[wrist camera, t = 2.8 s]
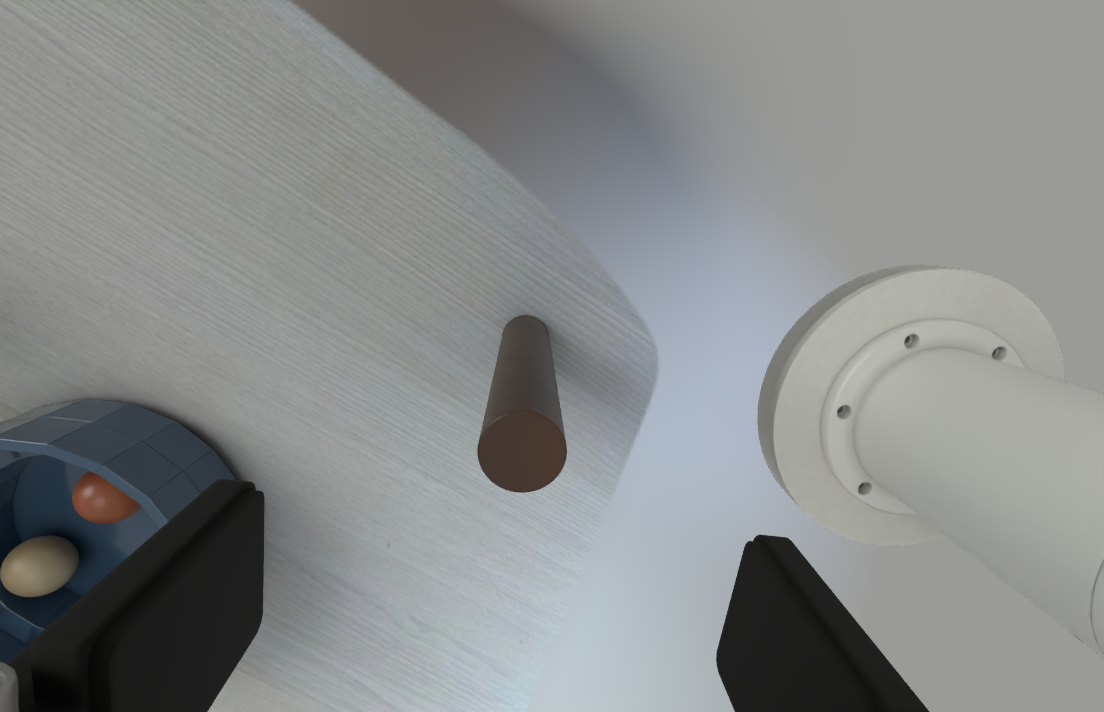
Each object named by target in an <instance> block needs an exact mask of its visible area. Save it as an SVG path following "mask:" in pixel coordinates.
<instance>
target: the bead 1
mask: <svg viewBox="0 0 1104 712" xmlns="http://www.w3.org/2000/svg"><path fill="white" fill-rule="evenodd" d="M78 564H79V554H78V550H77V548H76V547H75V546H74V544H73V543H72V542H70V541H69V540H67V539H65V538H63V537H59V536H52V535H46V536H39V537H35V538H32V539H29V540H27V541H25V542H23V543H21V544H19V545H18V546H16V547H15V548H14V549H13V550H12V551H11V552H10V553H9V554H8V555H7V556H6V558H5V559H4V561H3V563H2V566H1V569H0V578H1V581H2V584H3V585H4V587H5V588H6V589H7V590H8V591H10V592H11V593H13V594H15V595H18V596H23V597H38V596H42V595H46V594H49V593H51V592H54V591H56V590H57V589H59V588H61V587H62V586H63V585H65V584H66V583H67V582H68V581H69V580H70V579H71V578H72V576H73V575H74V573H75V572H76V570H77V567H78Z"/></svg>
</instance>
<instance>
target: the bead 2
mask: <svg viewBox="0 0 1104 712" xmlns="http://www.w3.org/2000/svg"><path fill="white" fill-rule="evenodd" d="M72 502H73V506H74V508H75V510H76V512H77V513H78V514H79V515H80V516H81V517H82V518H84V519H85V520H87V521H90V522H93V523H97V524H112V523H117V522H120V521H123V520H125V519H127V518H129V517H131V516H132V515H134V514H135V513H136V512H137V511H138V510H139V509H140V508H141V507H142V506H141V505H140V504H139V503H138V502H136V501H135V500H133V499H132V498H131V497H129V496H128V495H126V494H125V493H123V492H122V491H121V490H119V489H118V488H116V487H115V486H114V485H112V484H111V483H109V482H108V481H106V480H105V479H104V478H102V477H101V476H99V475H98V474H96V473H93V472H90V471H88V472H87V473H85V474H84V475H83V476H82V477H81V478H80V479H79V481H78V482H77V483H76V485H75V487H74V490H73V494H72Z"/></svg>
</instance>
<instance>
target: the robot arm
mask: <svg viewBox="0 0 1104 712" xmlns="http://www.w3.org/2000/svg"><path fill="white" fill-rule="evenodd" d="M820 434H821V446H822V450H823V453H824V457H825V460H826V463H827V465H828V466H829V468H830V470H831V472H832V474H833V476H834V477H835V478H836V479H837V480H838V481H839V482H840V484H841V485H842V486H843V487H844V488H845V489H846V490H847V491H848V492H850V493H851V494H852V495H853V496H854V497H855V498H857V499H858V500H860V501H862V502H863V503H865V504H867V505H869V506H871V507H872V508H875V509H878V510H881V511H885V512H888V513H894V514H903V515H915V514H918V515H920V516H921V517H922V518H923V519H925V520H926V521H927V522H929V523H930V524H931V525H932V526H934V527H935V528H936V529H938V530H939V531H940V532H941V533H943V534H944V535H945V536H947V537H948V538H949V539H950V540H952V541H953V542H954V543H956V544H957V545H958V546H959V547H961V548H962V549H963V550H965V551H966V552H967V553H969V554H970V555H971V556H972V557H974V558H975V559H976V560H977V561H979V562H980V563H981V564H983V565H984V566H985V567H987V568H988V569H989V570H990V571H992V572H993V573H994V574H995V575H997V576H998V577H999V578H1001V579H1002V580H1003V581H1005V582H1006V583H1007V584H1008V585H1010V586H1011V587H1012V588H1014V589H1015V590H1016V591H1017V592H1019V593H1020V594H1021V595H1023V596H1024V597H1025V598H1026V599H1028V600H1029V601H1030V602H1032V603H1033V604H1034V605H1035V606H1037V607H1038V608H1039V609H1041V610H1042V611H1043V612H1044V613H1046V614H1047V615H1048V616H1050V617H1051V618H1052V619H1053V620H1055V621H1056V622H1057V623H1059V624H1060V625H1061V626H1062V627H1064V628H1065V629H1066V630H1068V631H1069V632H1070V633H1071V634H1073V635H1074V636H1075V637H1077V638H1078V639H1079V640H1081V641H1082V642H1083V643H1085V644H1086V645H1087V646H1088V647H1089V648H1091V649H1092V650H1093V651H1095V652H1096V653H1097V654H1099V655H1100V656H1101V657H1102V658H1104V394H1103V393H1100V392H1097V391H1093V390H1090V389H1087V388H1084V387H1081V386H1078V385H1074V384H1071V383H1068V382H1065V381H1062V380H1059V379H1056V378H1052V377H1049V376H1046V375H1043V374H1040V373H1037V372H1033V371H1030V370H1027V369H1025V366H1024V364H1023V362H1022V360H1021V358H1020V357H1019V355H1018V354H1017V353H1016V351H1015V350H1014V349H1013V347H1012V346H1011V345H1010V344H1009V343H1007V342H1006V341H1005V340H1004V339H1003V338H1001V337H1000V336H999V335H998V334H996V333H994V332H992V331H990V330H988V329H986V328H984V327H982V326H979V325H975V324H971V323H968V322H964V321H959V320H952V319H945V318H939V319H923V320H919V321H915V322H910V323H906V324H903V325H900V326H898V327H896V328H894V329H891V330H889V331H887V332H884V333H883V334H881V335H880V336H878V337H877V338H875V339H874V340H872V341H870V342H869V343H867V344H866V345H865V346H864V347H863V348H862V349H861V350H859V351H858V352H857V353H856V354H855V355H854V356H853V357H852V358H851V359H850V360H849V361H848V363H847V364H846V365H845V366H844V368H843V369H842V370H841V371H840V373H839V374H838V376H837V378H836V379H835V381H834V383H833V385H832V387H831V388H830V390H829V392H828V395H827V398H826V401H825V404H824V407H823V411H822V418H821V425H820ZM263 565H264V494H263V492H262V491H256V488H255V485H254V484H253V483H252V482H247V481H237V480H227V479H218V480H216V481H215V482H214V483H212V484H211V485H210V486H209V487H208V488H207V489H206V490H204V491H203V492H202V493H201V494H200V495H199V496H197V497H196V498H195V499H194V500H193V501H192V502H191V503H189V504H188V505H187V506H186V507H185V508H184V509H182V510H181V511H180V512H179V513H178V514H177V515H176V516H174V517H173V518H172V519H171V520H170V521H169V522H168V523H166V524H165V525H164V526H163V527H162V528H161V529H159V530H158V531H157V532H156V533H155V534H154V535H153V536H151V537H150V538H149V539H148V540H147V541H146V542H145V543H143V544H142V545H141V546H140V547H139V548H138V549H136V550H135V551H134V552H133V553H132V554H131V555H130V556H128V557H127V558H126V559H125V560H124V561H123V562H122V563H120V564H119V565H118V566H117V567H116V568H115V569H113V570H112V571H111V572H110V573H109V574H108V575H107V576H105V577H104V578H103V579H102V580H101V581H100V582H99V583H97V584H96V585H95V586H94V587H93V588H92V589H90V590H89V591H88V592H87V593H86V594H85V595H84V596H82V597H81V598H80V599H79V600H78V601H77V602H76V603H74V604H73V605H72V606H71V607H70V608H69V609H67V610H66V611H65V612H64V613H63V614H62V615H61V616H59V617H58V618H57V619H56V620H55V621H54V622H52V623H51V624H50V625H49V626H48V627H47V628H46V629H44V630H43V631H42V632H41V633H40V634H39V635H38V636H36V637H35V638H34V639H33V640H32V641H31V642H29V643H28V646H27V647H26V648H25V649H23V650H22V651H21V652H20V653H19V654H18V655H16V656H15V657H14V658H13V659H12V660H11V661H10V662H8V663H7V664H5V663H3V662H0V712H207V711H208V710H209V708H210V707H211V705H212V703H213V702H214V700H215V699H216V697H217V695H218V694H219V692H220V691H221V689H222V688H223V686H224V684H225V683H226V681H227V680H228V678H229V677H230V675H231V673H232V672H233V670H234V669H235V667H236V666H237V664H238V662H239V661H240V659H241V658H242V656H243V655H244V653H245V651H246V650H247V648H248V647H249V645H250V644H251V642H252V640H253V639H254V637H255V636H256V634H257V632H258V629H259V627H260V624H261V620H262V615H263ZM716 661H717V668H718V672H719V675H720V677H721V679H722V682H723V684H724V687H725V689H726V691H727V694H728V696H729V698H730V701H731V703H732V705H733V708H734V710H735V712H929V711H928V710H927V708H926V707H925V706H924V704H923V703H922V702H921V701H920V700H919V698H918V697H917V696H916V695H915V693H914V692H913V691H912V690H911V689H910V687H909V686H908V685H907V683H906V682H905V681H904V680H903V678H902V677H901V676H900V675H899V674H898V672H897V671H896V670H895V669H894V668H893V666H892V665H891V664H890V662H889V661H888V660H887V659H886V657H885V656H884V655H883V654H882V653H881V651H880V650H879V649H878V648H877V646H876V645H875V644H874V643H873V641H872V640H871V639H870V638H869V637H868V635H867V634H866V633H865V631H864V630H863V629H862V628H861V627H860V625H859V624H858V623H857V622H856V621H855V619H854V618H853V617H852V615H851V614H850V613H849V612H848V610H847V609H846V608H845V607H844V606H843V604H842V603H841V602H840V601H839V599H838V598H837V597H836V596H835V594H834V593H833V592H832V591H831V589H830V588H829V587H828V586H827V584H826V583H825V582H824V581H823V580H822V578H821V577H820V576H819V575H818V574H817V572H816V571H815V570H814V568H813V567H812V566H811V565H810V564H809V562H808V561H807V560H806V559H805V557H804V556H803V555H802V554H801V553H800V551H799V550H798V549H797V547H796V546H795V545H794V544H793V542H792V541H791V540H789V539H788V538H785V537H776V536H767V535H758V536H756V537H755V538H754V540H753V541H749V542H747V543H746V545H745V548H744V551H743V555H742V559H741V562H740V566H739V570H738V574H737V577H736V581H735V585H734V589H733V593H732V597H731V600H730V604H729V608H728V612H727V615H726V619H725V623H724V627H723V630H722V634H721V638H720V642H719V646H718V649H717V657H716Z"/></svg>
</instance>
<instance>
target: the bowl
mask: <svg viewBox="0 0 1104 712" xmlns="http://www.w3.org/2000/svg"><path fill="white" fill-rule="evenodd" d="M88 471H90V472H93V473H96V474H98V475H99V476H101V477H102V478H104V479H105V480H106V481H108V482H109V483H111V484H112V485H114V486H115V487H116V488H118V489H119V490H121V491H122V492H123V493H125V494H126V495H128V496H129V497H131V498H132V499H133V500H135V501H136V502H138V503H139V504H140V505H141V506H142V507H141V508H140V509H139V510H138V511H137V512H136V513H135V514H134V515H132V516H131V517H129V518H127V519H125V520H123V521H120V522H117V523H112V524H97V523H93V522H90V521H87V520H85V519H84V518H82V517H81V516H80V515H79V514H78V513H77V512H76V510H75V508H74V506H73V502H72V494H73V490H74V487H75V485H76V483H77V482H78V481H79V479H80V478H81V477H82V476H83V475H84V474H85V473H87V472H88ZM218 479H227V480H236V479H235V477H234V476H233V475H232V473H231V472H230V471H229V470H228V468H227V467H226V466H225V464H224V463H223V462H222V460H221V459H220V458H219V456H218V455H217V454H216V452H215V451H214V450H213V449H212V448H211V447H210V446H208V445H207V444H206V443H204V442H203V441H202V440H200V439H199V438H198V437H196V436H195V435H194V434H192V433H191V432H190V431H188V430H187V429H186V428H184V427H183V426H182V425H180V424H179V423H178V422H176V421H174V420H171V419H169V418H166V417H164V416H161V415H159V414H156V413H154V412H151V411H149V410H146V409H144V408H141V407H139V406H137V405H134V404H129V403H121V402H112V401H104V400H95V399H79V400H73V401H68V402H62V403H56V404H51V405H45V406H41V407H38V408H36V409H33V410H31V411H28V412H26V413H23V414H21V415H18V416H16V417H13V418H11V419H8V420H6V421H3V422H1V423H0V569H1V566H2V563H3V561H4V559H5V558H6V556H7V555H8V554H9V553H10V552H11V551H12V550H13V549H14V548H15V547H16V546H18V545H19V544H21V543H23V542H25V541H27V540H29V539H32V538H35V537H39V536H46V535H52V536H59V537H63V538H65V539H67V540H69V541H70V542H72V543H73V544H74V546H75V547H76V548H77V550H78V554H79V564H78V567H77V570H76V572H75V573H74V575H73V576H72V578H71V579H70V580H69V581H68V582H67V583H66V584H65V585H63V586H62V587H61V588H59V589H57V590H56V591H54V592H51V593H49V594H46V595H42V596H38V597H23V596H18V595H15V594H13V593H11V592H10V591H8V590H7V589H6V588H5V587H4V585H3V584H2V581H1V578H0V662H3V663H5V664H7V663H8V662H10V661H11V660H12V659H13V658H14V657H15V656H16V655H18V654H19V653H20V652H21V651H22V650H23V649H25V648H26V647H27V646H28V643H29V642H31V641H32V640H33V639H34V638H35V637H36V636H38V635H39V634H40V633H41V632H42V631H43V630H44V629H46V628H47V627H48V626H49V625H50V624H51V623H52V622H54V621H55V620H56V619H57V618H58V617H59V616H61V615H62V614H63V613H64V612H65V611H66V610H67V609H69V608H70V607H71V606H72V605H73V604H74V603H76V602H77V601H78V600H79V599H80V598H81V597H82V596H84V595H85V594H86V593H87V592H88V591H89V590H90V589H92V588H93V587H94V586H95V585H96V584H97V583H99V582H100V581H101V580H102V579H103V578H104V577H105V576H107V575H108V574H109V573H110V572H111V571H112V570H113V569H115V568H116V567H117V566H118V565H119V564H120V563H122V562H123V561H124V560H125V559H126V558H127V557H128V556H130V555H131V554H132V553H133V552H134V551H135V550H136V549H138V548H139V547H140V546H141V545H142V544H143V543H145V542H146V541H147V540H148V539H149V538H150V537H151V536H153V535H154V534H155V533H156V532H157V531H158V530H159V529H161V528H162V527H163V526H164V525H165V524H166V523H168V522H169V521H170V520H171V519H172V518H173V517H174V516H176V515H177V514H178V513H179V512H180V511H181V510H182V509H184V508H185V507H186V506H187V505H188V504H189V503H191V502H192V501H193V500H194V499H195V498H196V497H197V496H199V495H200V494H201V493H202V492H203V491H204V490H206V489H207V488H208V487H209V486H210V485H211V484H212V483H214V482H215V481H216V480H218Z"/></svg>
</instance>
